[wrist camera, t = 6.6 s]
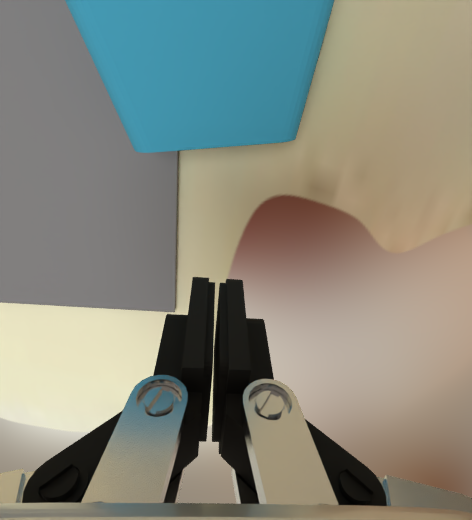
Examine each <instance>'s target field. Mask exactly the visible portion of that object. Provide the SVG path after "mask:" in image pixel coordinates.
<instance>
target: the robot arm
mask: <svg viewBox="0 0 472 520" xmlns="http://www.w3.org/2000/svg"><path fill="white" fill-rule="evenodd" d="M214 299H215V283H213V282H209V278H201V277H193V280H192V288H191V296H190V304H189V312H188V315H172V314H167V315H166V319H165V324H164V329H163V333H162V338H161V343H160V347H159V352H158V357H157V362H156V366H155V371H154V376H150V377H148V378H146V379H144V380H142V381H141V382H140V383H138V384H137V385H136V386H135V388H134V389H133V391H132V392H131V394H130V396H129V399H128V401H127V403H126V405H125V407H124V409H123V411H122V412H120V413H119V414H117V415H116V416H114V417H113V418H111V419H110V420H108V421H106V422H105V423H103V424H102V425H100V426H99V427H97V428H96V429H94V430H93V431H91V432H90V433H88V434H87V435H85V436H84V437H82V438H81V439H80V440H78V441H77V442H75V443H74V444H72V445H70V446H69V447H67V448H66V449H64V450H63V451H61V452H60V453H58V454H57V455H55V456H54V457H53V458H51V459H49V460H48V461H46V462H45V463H44V464H43V465H41V466H40V467H39V468H38V469H37V470H36V471H32V472H26V473H24V470H23V469H19V470H14V471H9V472H4V473H0V520H472V498H470V497H467V496H465V495H463V494H459V493H455V492H451V491H448V490H444V489H440V488H436V487H432V486H427V485H424V484H420V483H416V482H412V481H408V480H404V479H400V478H396V477H392V476H389V475H386V476H385V478H380V477H376V475H375V474H374V473H373V472H372V471H371V470H369V468H367V467H366V466H365V465H364V464H362V463H361V462H360V461H358V460H357V459H356V458H355V457H353V456H352V455H351V454H349V453H348V452H347V451H346V450H344V449H343V448H342V447H340V446H339V445H338V444H337V443H335V442H334V441H333V440H331V439H330V438H329V437H327V436H326V435H325V434H324V433H322V432H321V431H320V430H318V429H317V428H316V427H315V426H313V425H312V424H311V423H309V422H308V421H307V420H305V418H304V416H303V413H302V411H301V408H300V406H299V403H298V401H297V398H296V396H295V395H294V393H293V391H292V390H291V389H289V387H287V386H286V385H285V384H283V383H281V382H279V381H276V380H274V378H273V372H272V366H271V360H270V354H269V347H268V341H267V335H266V329H265V323H264V320H263V319H248V318H246V312H245V301H244V291H243V281H242V280H234V279H226V283H220V287H219V298H218V310H217V321H216V332H215V344H214V376H213V418H212V442H219V454H221V457H222V458H223V459H224V460H225V461H226V462H227V463H228V464H229V465H230V466H231V467H232V479H233V486H234V491H235V497H236V503H237V504H207V503H203V504H202V503H199V504H198V503H197V504H196V503H178V498H179V494H180V490H181V486H182V482H183V477H184V469H185V467H186V466H187V465H188V464H189V463H191V462H192V461H193V460H194V459H195V458H196V457H197V456H198V448H199V441H206V438H207V426H208V415H209V404H210V392H211V381H212V368H213V336H214Z"/></svg>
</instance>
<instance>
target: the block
mask: <svg viewBox="0 0 472 520" xmlns="http://www.w3.org/2000/svg"><path fill="white" fill-rule="evenodd" d="M65 1H66V4H67V6H68V8H69V10H70V12H71V14H72V17H73V19H74V21H75V23H76V25H77V27H78V29H79V32H80V34H81V36H82V38H83V40H84V42H85V45H86V47H87V49H88V51H89V53H90V55H91V57H92V60H93V62H94V64H95V66H96V68H97V70H98V73H99V75H100V77H101V79H102V81H103V83H104V86H105V88H106V90H107V92H108V94H109V96H110V98H111V101H112V103H113V105H114V107H115V109H116V111H117V114H118V116H119V118H120V120H121V122H122V124H123V126H124V129H125V131H126V133H127V135H128V137H129V139H130V142H131V144H132V146H133V148H134V150H135V151H136V152H140V153H154V152H167V151H179V150H192V149H205V148H217V147H230V146H243V145H255V144H268V143H281V142H288V141H292V140H295V138H296V135H297V131H298V128H299V124H300V121H301V117H302V114H303V110H304V107H305V103H306V99H307V96H308V92H309V89H310V85H311V82H312V78H313V75H314V71H315V67H316V64H317V60H318V57H319V53H320V50H321V46H322V43H323V39H324V35H325V32H326V28H327V25H328V21H329V18H330V14H331V11H332V7H333V3H334V0H65Z"/></svg>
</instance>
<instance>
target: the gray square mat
mask: <svg viewBox="0 0 472 520" xmlns="http://www.w3.org/2000/svg"><path fill="white" fill-rule="evenodd" d="M177 191H178V151H167V152H154V153H140V152H136V151H135V150H134V148H133V146H132V144H131V142H130V139H129V137H128V135H127V133H126V131H125V129H124V126H123V124H122V122H121V120H120V118H119V116H118V114H117V111H116V109H115V107H114V105H113V103H112V101H111V98H110V96H109V94H108V92H107V90H106V88H105V86H104V83H103V81H102V79H101V77H100V75H99V73H98V70H97V68H96V66H95V64H94V62H93V60H92V57H91V55H90V53H89V51H88V49H87V47H86V45H85V42H84V40H83V38H82V36H81V34H80V32H79V29H78V27H77V25H76V23H75V21H74V19H73V17H72V14H71V12H70V10H69V8H68V6H67V4H66V1H65V0H0V302H3V303H20V304H38V305H55V306H73V307H91V308H108V309H126V310H144V311H161V312H175V302H176V246H177Z"/></svg>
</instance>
